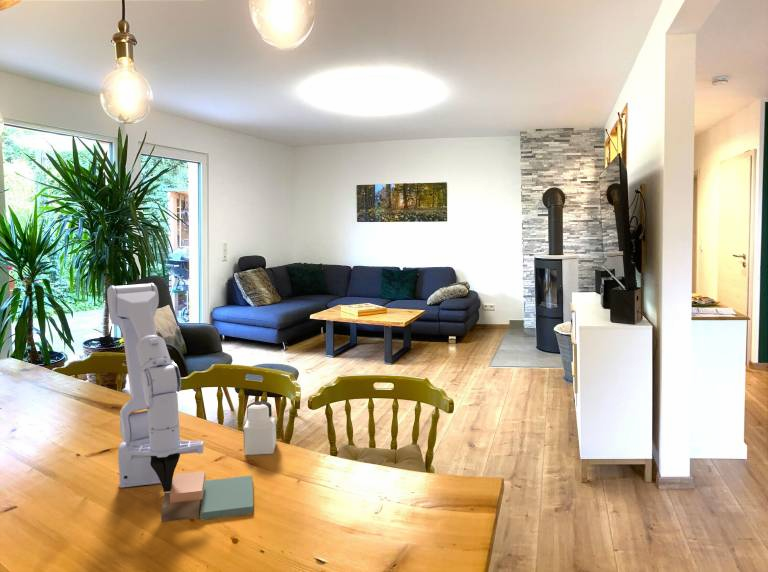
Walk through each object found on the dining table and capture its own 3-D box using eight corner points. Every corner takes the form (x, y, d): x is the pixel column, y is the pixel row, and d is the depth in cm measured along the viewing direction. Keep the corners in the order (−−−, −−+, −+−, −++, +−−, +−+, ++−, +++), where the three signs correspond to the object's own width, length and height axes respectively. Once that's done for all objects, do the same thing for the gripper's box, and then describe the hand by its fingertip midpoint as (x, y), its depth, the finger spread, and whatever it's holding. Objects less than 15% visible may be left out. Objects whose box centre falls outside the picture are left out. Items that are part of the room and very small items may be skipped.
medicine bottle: (248, 444, 148) (246, 399, 146) (276, 443, 148) (274, 398, 147) (244, 455, 141) (242, 408, 139) (273, 454, 141) (271, 407, 140)
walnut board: (161, 522, 110) (160, 507, 110) (169, 493, 122) (168, 480, 121) (199, 517, 112) (198, 503, 111) (203, 489, 123) (203, 476, 123)
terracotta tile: (170, 503, 112) (169, 494, 111) (175, 482, 120) (175, 474, 120) (202, 499, 113) (201, 490, 113) (205, 479, 122) (205, 471, 121)
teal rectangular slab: (200, 520, 111) (200, 512, 111) (205, 487, 124) (205, 480, 124) (253, 513, 113) (253, 506, 113) (252, 481, 127) (252, 475, 126)
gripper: (120, 435, 108) (125, 503, 110) (200, 428, 112) (203, 494, 113) (128, 423, 115) (132, 486, 117) (202, 416, 118) (206, 478, 120)
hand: (167, 489), depth 116 cm, fingers closed
